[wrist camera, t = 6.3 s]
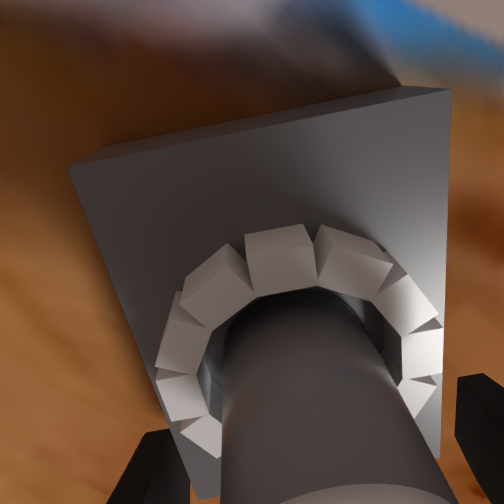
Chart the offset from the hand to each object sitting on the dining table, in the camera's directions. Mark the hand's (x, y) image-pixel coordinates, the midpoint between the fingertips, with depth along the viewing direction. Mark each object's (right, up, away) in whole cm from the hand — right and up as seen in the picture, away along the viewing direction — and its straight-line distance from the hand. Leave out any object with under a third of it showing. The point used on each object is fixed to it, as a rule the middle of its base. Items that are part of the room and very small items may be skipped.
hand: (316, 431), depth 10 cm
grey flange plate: (0, +3, +6) cm, 6 cm away
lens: (0, +1, +3) cm, 3 cm away
